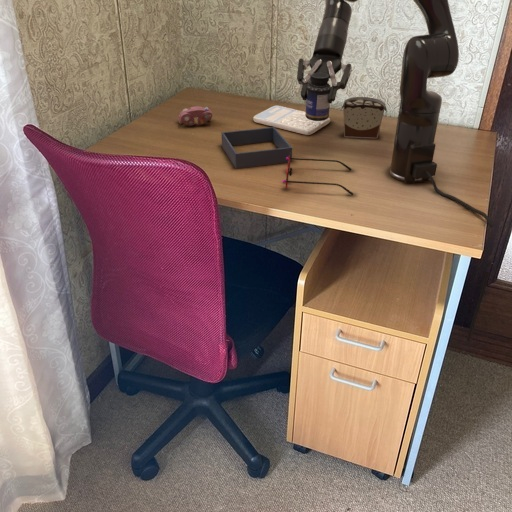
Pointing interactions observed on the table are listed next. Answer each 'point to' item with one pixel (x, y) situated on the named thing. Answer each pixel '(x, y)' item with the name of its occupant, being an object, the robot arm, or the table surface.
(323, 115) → the pill bottle
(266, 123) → the calculator
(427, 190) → the table surface
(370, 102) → the food container
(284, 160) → the fence
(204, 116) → the pink toy car
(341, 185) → the glasses
